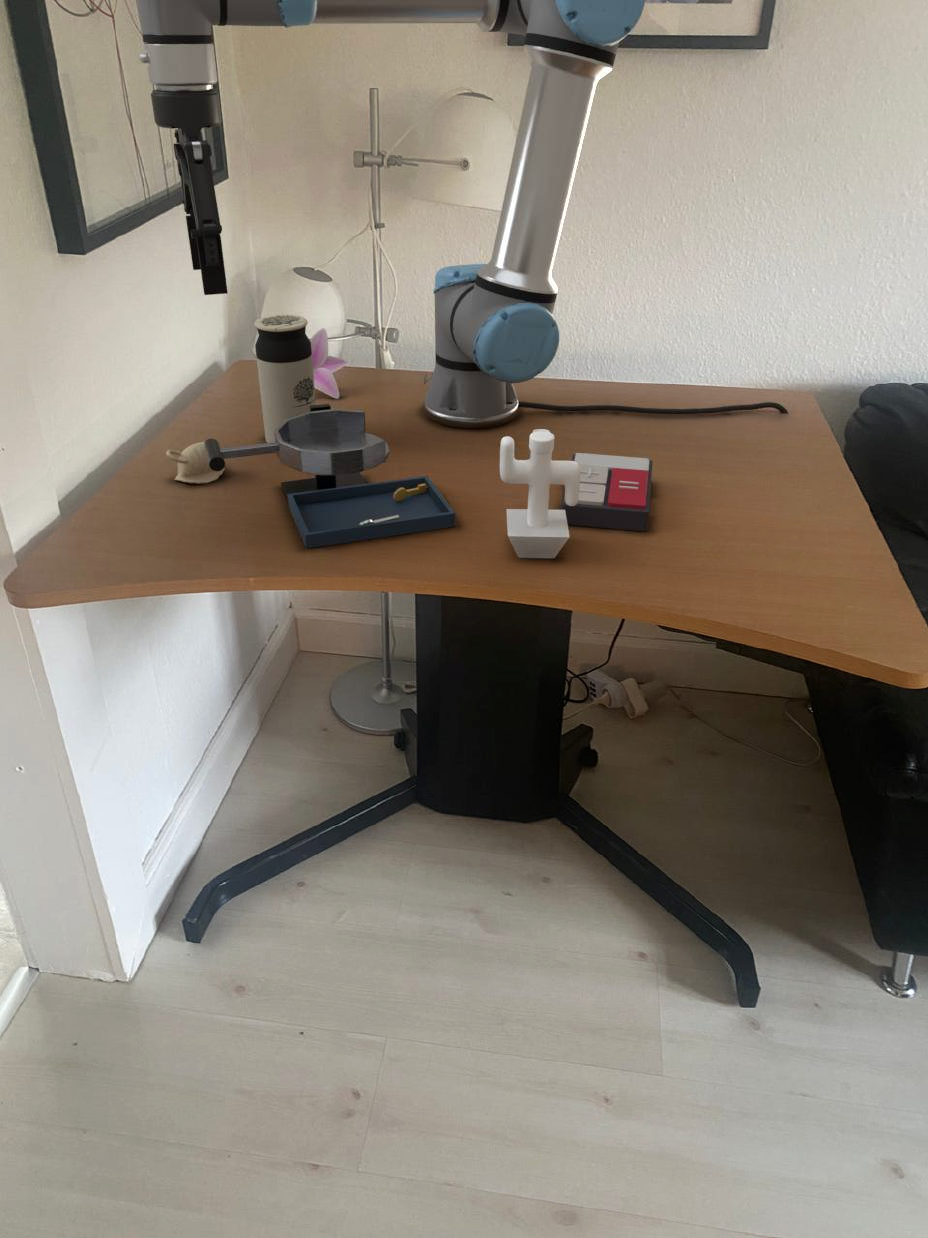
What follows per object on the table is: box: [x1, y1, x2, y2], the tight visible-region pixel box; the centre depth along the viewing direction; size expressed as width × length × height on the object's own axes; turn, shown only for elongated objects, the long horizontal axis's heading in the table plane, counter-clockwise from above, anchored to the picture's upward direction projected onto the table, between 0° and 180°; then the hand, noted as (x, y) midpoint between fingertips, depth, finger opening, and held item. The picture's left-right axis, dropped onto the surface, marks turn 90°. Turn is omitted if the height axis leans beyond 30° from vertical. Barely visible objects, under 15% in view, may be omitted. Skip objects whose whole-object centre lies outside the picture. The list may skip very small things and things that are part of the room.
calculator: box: [560, 452, 653, 533], centre depth 127 cm, size 11×4×15 cm
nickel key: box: [359, 515, 399, 525], centre depth 120 cm, size 6×2×1 cm
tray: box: [287, 475, 456, 549], centre depth 123 cm, size 19×12×2 cm, turn 109°
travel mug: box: [254, 314, 317, 443], centre depth 141 cm, size 8×8×18 cm
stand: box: [280, 403, 367, 503], centre depth 127 cm, size 11×5×12 cm, turn 109°
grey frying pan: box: [204, 408, 390, 476], centre depth 116 cm, size 22×15×3 cm, turn 109°
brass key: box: [393, 484, 428, 501], centre depth 128 cm, size 6×2×1 cm
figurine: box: [499, 428, 580, 559], centre depth 113 cm, size 7×9×15 cm
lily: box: [309, 327, 348, 400], centre depth 162 cm, size 12×12×10 cm
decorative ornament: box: [165, 441, 226, 485], centre depth 132 cm, size 4×8×5 cm, turn 129°
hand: (209, 280), depth 120 cm, fingers open, 13 cm apart
